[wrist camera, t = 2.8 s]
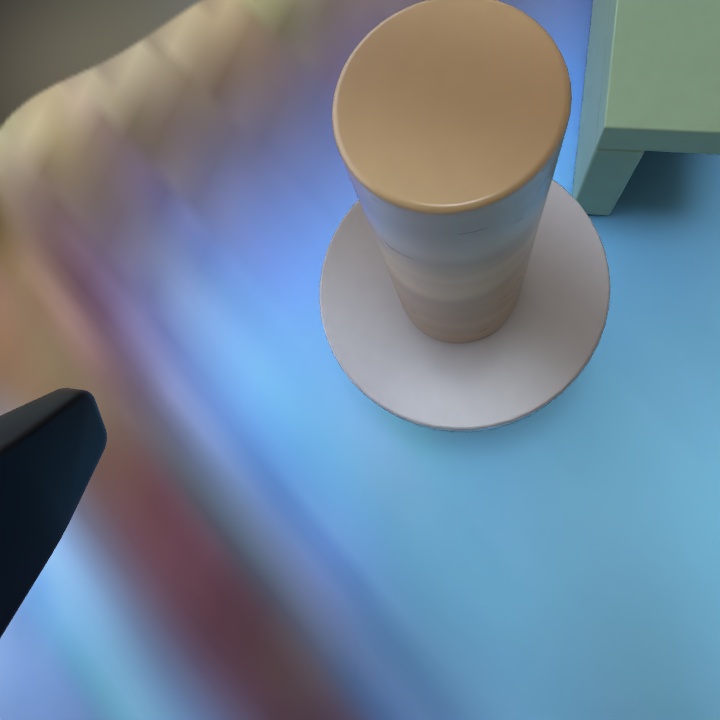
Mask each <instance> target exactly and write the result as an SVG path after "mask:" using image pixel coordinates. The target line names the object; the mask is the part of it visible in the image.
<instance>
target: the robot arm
mask: <svg viewBox="0 0 720 720" xmlns="http://www.w3.org/2000/svg"><path fill="white" fill-rule="evenodd" d="M106 442H107V433H106V429H105V426H104V423H103V421H102V418H101V415H100V412H99V409H98V407H97V404H96V401H95V399H94V397H93V395H92V394H91V393H90V392H88V391H85V390H78V389H70V388H62V389H58V390H56V391H54V392H51V393H49V394H47V395H45V396H43V397H41V398H38V399H36V400H34V401H32V402H30V403H27V404H25V405H23V406H21V407H19V408H16V409H14V410H12V411H10V412H8V413H6V414H3V415H1V416H0V638H1V636H2V635H3V633H4V631H5V630H6V628H7V626H8V625H9V623H10V622H11V620H12V618H13V617H14V615H15V613H16V612H17V610H18V608H19V607H20V605H21V604H22V602H23V600H24V599H25V597H26V595H27V594H28V592H29V590H30V589H31V587H32V586H33V584H34V582H35V581H36V579H37V577H38V576H39V574H40V573H41V571H42V569H43V568H44V566H45V564H46V563H47V561H48V559H49V558H50V556H51V555H52V553H53V551H54V549H55V548H56V546H57V544H58V543H59V541H60V539H61V537H62V535H63V533H64V531H65V530H66V528H67V526H68V524H69V522H70V520H71V518H72V516H73V514H74V511H75V509H76V507H77V505H78V503H79V501H80V499H81V497H82V495H83V493H84V491H85V489H86V487H87V485H88V482H89V480H90V478H91V476H92V474H93V472H94V470H95V468H96V466H97V464H98V462H99V460H100V458H101V456H102V453H103V451H104V449H105V446H106Z"/></svg>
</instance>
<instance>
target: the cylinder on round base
mask: <svg viewBox="0 0 720 720" xmlns="http://www.w3.org/2000/svg"><path fill="white" fill-rule="evenodd" d="M571 100H572V96H571V82H570V78H569V73H568V69H567V66H566V64H565V61H564V59H563V56H562V54H561V52H560V51H559V49H558V47H557V45H556V44H555V42H554V40H553V39H552V38H551V37H550V35H549V34H548V33H547V32H546V30H545V29H544V28H543V27H542V26H540V25H539V24H538V23H537V22H536V21H535V20H534V19H532V18H531V17H530V16H528V15H527V14H525V13H524V12H522V11H520V10H518V9H516V8H515V7H513V6H511V5H508V4H505V3H502V2H500V1H497V0H426V1H422V2H420V3H417V4H414V5H412V6H409V7H407V8H405V9H403V10H401V11H399V12H397V13H395V14H393V15H392V16H390V17H389V18H387V19H385V20H384V21H382V22H381V23H380V24H379V25H377V26H376V27H375V28H374V29H373V30H371V31H370V32H369V33H368V34H367V35H366V36H365V37H364V38H363V40H362V41H361V42H360V43H359V44H358V46H357V47H356V48H355V49H354V51H353V52H352V54H351V55H350V57H349V59H348V60H347V62H346V64H345V66H344V68H343V70H342V72H341V75H340V77H339V80H338V83H337V87H336V90H335V93H334V99H333V106H332V125H333V132H334V137H335V141H336V145H337V148H338V151H339V153H340V155H341V158H342V160H343V163H344V165H345V167H346V170H347V172H348V175H349V177H350V180H351V182H352V184H353V187H354V189H355V192H356V194H357V197H358V199H359V200H358V201H357V202H356V203H355V204H354V205H353V206H352V208H351V209H350V210H349V212H348V213H347V214H346V215H345V217H344V218H343V219H342V221H341V223H340V225H339V226H338V228H337V230H336V231H335V233H334V235H333V237H332V240H331V242H330V245H329V247H328V249H327V252H326V256H325V259H324V263H323V266H322V272H321V279H320V298H319V302H320V311H321V319H322V323H323V327H324V331H325V335H326V338H327V340H328V343H329V345H330V348H331V350H332V353H333V354H334V356H335V358H336V360H337V361H338V363H339V365H340V366H341V368H342V369H343V371H344V372H345V373H346V375H347V376H348V377H349V379H350V380H351V381H352V382H353V383H354V384H355V385H356V386H357V387H358V388H359V389H360V390H361V391H362V392H363V393H364V394H365V395H366V396H367V397H368V398H370V399H371V400H372V401H374V402H375V403H376V404H378V405H379V406H380V407H382V408H383V409H385V410H386V411H388V412H390V413H392V414H394V415H395V416H397V417H399V418H401V419H403V420H406V421H408V422H411V423H413V424H416V425H419V426H423V427H427V428H431V429H435V430H442V431H451V432H474V431H481V430H488V429H493V428H497V427H501V426H504V425H508V424H511V423H513V422H516V421H518V420H521V419H523V418H525V417H528V416H529V415H531V414H533V413H534V412H536V411H538V410H540V409H541V408H543V407H545V406H546V405H547V404H548V403H550V402H551V401H552V400H553V399H555V398H556V397H557V396H559V395H560V394H561V393H562V392H563V391H564V390H565V389H566V388H567V387H568V386H569V385H570V384H571V383H572V382H573V381H574V380H575V379H576V378H577V377H578V376H579V374H580V373H581V372H582V370H583V369H584V367H585V366H586V365H587V363H588V362H589V360H590V359H591V357H592V355H593V353H594V351H595V349H596V347H597V346H598V343H599V341H600V338H601V335H602V333H603V330H604V327H605V324H606V319H607V314H608V310H609V301H610V276H609V267H608V263H607V258H606V254H605V250H604V247H603V245H602V242H601V239H600V237H599V234H598V232H597V230H596V229H595V227H594V225H593V223H592V221H591V219H590V218H589V216H588V215H587V214H586V212H585V211H584V209H583V208H582V207H581V205H580V204H579V203H578V202H577V201H576V200H575V199H574V198H573V197H572V196H571V195H570V194H569V193H568V191H567V190H566V189H564V188H563V187H562V186H560V185H559V184H558V183H557V182H555V181H554V180H553V179H552V178H553V175H554V171H555V168H556V164H557V161H558V157H559V154H560V150H561V147H562V143H563V140H564V136H565V133H566V129H567V125H568V121H569V117H570V112H571Z"/></svg>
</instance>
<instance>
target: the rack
mask: <svg viewBox="0 0 720 720" xmlns="http://www.w3.org/2000/svg"><path fill="white" fill-rule="evenodd" d="M645 151H660V152H679V153H699V154H718V155H720V0H593V6H592V15H591V24H590V34H589V43H588V52H587V61H586V71H585V80H584V89H583V98H582V108H581V117H580V126H579V135H578V145H577V154H576V163H575V172H574V181H573V191H572V197H573V198H574V199H575V200H576V201H577V202H578V203H579V204H580V205H581V207H582V208H583V209H584V211H585V212H586V214H593V215H610V214H611V212H612V210H613V208H614V207H615V205H616V203H617V201H618V199H619V197H620V196H621V194H622V192H623V190H624V188H625V187H626V185H627V183H628V181H629V179H630V178H631V176H632V174H633V172H634V170H635V169H636V167H637V165H638V163H639V161H640V160H641V158H642V156H643V154H644V152H645Z"/></svg>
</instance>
